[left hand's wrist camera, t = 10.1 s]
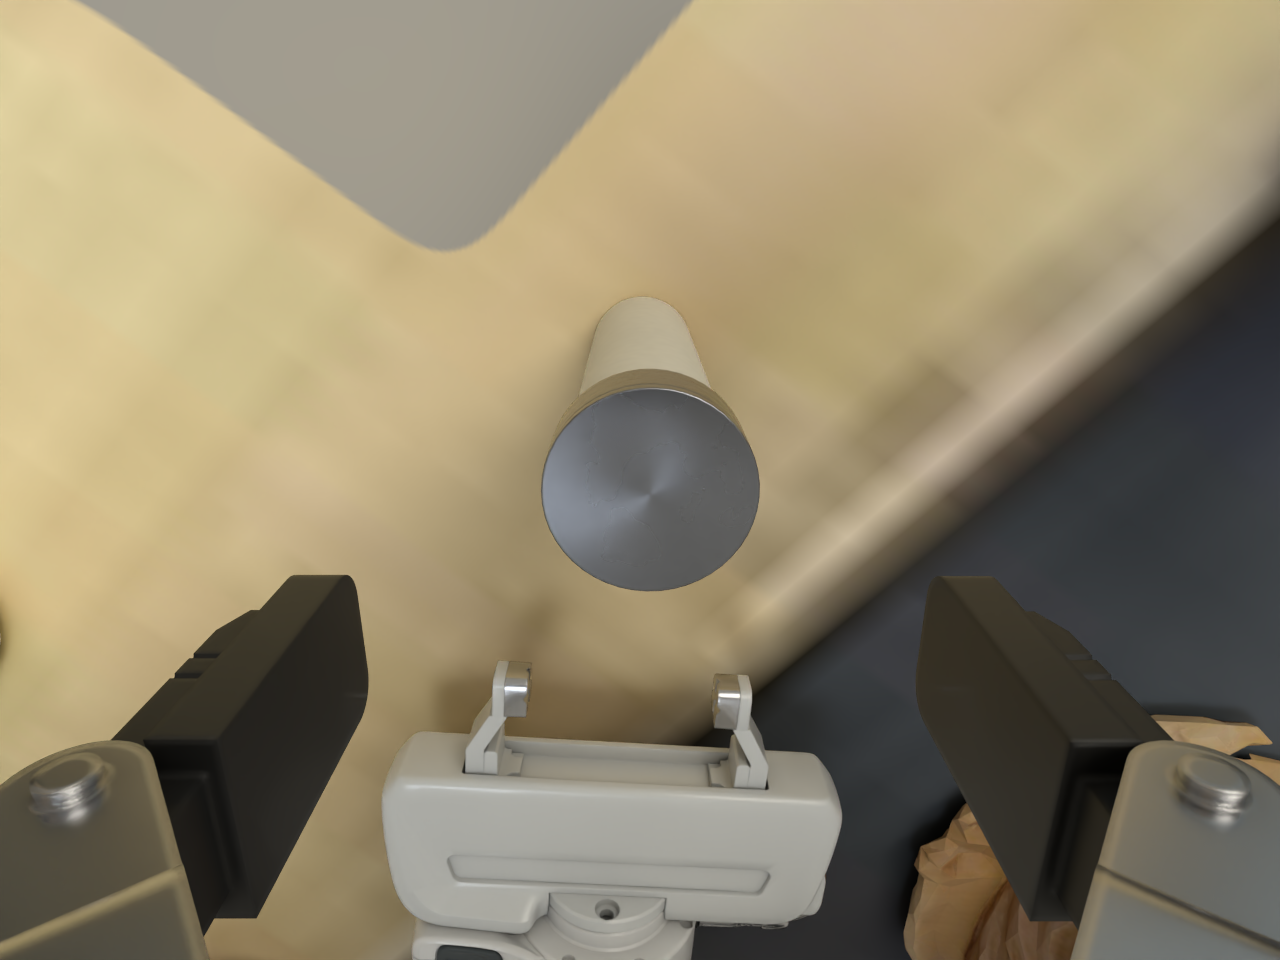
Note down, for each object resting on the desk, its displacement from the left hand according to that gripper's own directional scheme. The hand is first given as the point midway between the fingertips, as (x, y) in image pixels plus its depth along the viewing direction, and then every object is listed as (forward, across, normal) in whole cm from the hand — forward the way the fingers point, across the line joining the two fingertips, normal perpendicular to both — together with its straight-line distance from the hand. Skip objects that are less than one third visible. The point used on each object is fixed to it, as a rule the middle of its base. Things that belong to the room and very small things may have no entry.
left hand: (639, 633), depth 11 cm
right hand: (+19, +1, +14) cm, 24 cm away
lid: (+8, 0, +1) cm, 8 cm away
